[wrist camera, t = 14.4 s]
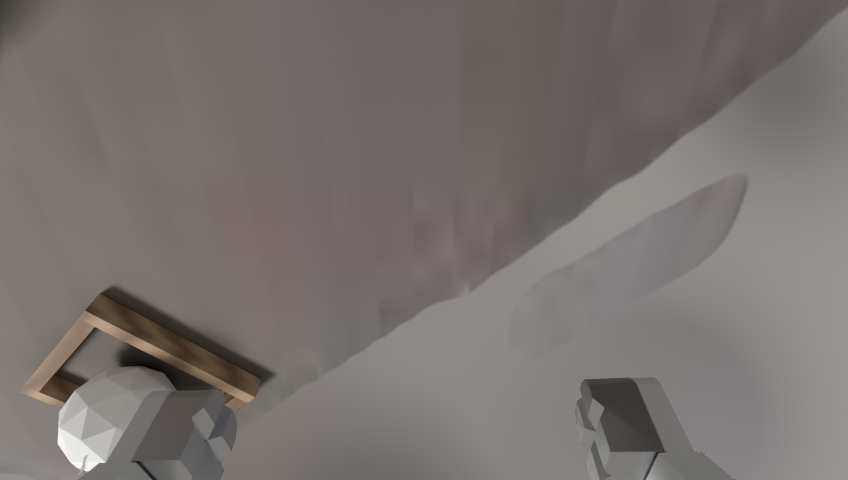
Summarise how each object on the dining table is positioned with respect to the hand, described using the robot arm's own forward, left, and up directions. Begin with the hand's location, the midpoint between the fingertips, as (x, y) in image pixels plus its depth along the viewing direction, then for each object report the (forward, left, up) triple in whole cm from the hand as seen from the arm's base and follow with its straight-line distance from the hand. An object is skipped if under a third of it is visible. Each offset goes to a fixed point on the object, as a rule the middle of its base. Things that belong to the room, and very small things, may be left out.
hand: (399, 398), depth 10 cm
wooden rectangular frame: (+5, -62, -34) cm, 71 cm away
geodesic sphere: (+5, -62, -34) cm, 71 cm away
